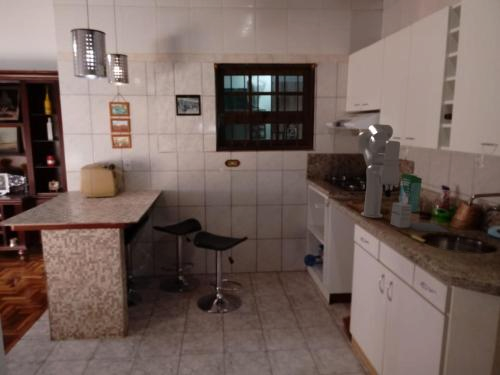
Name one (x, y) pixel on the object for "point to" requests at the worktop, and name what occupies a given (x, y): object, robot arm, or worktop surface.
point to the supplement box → (401, 215)
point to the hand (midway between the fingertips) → (387, 196)
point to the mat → (426, 227)
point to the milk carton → (410, 190)
